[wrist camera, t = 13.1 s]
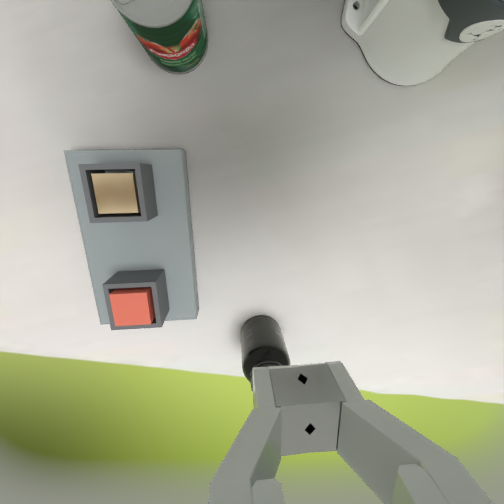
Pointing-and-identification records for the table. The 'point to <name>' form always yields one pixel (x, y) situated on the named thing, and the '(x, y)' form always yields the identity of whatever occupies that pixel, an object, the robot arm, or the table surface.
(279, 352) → the supplement bottle
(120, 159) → the button panel
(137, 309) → the red button
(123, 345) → the table surface
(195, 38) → the canned tomato
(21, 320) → the table surface
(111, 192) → the tan button
